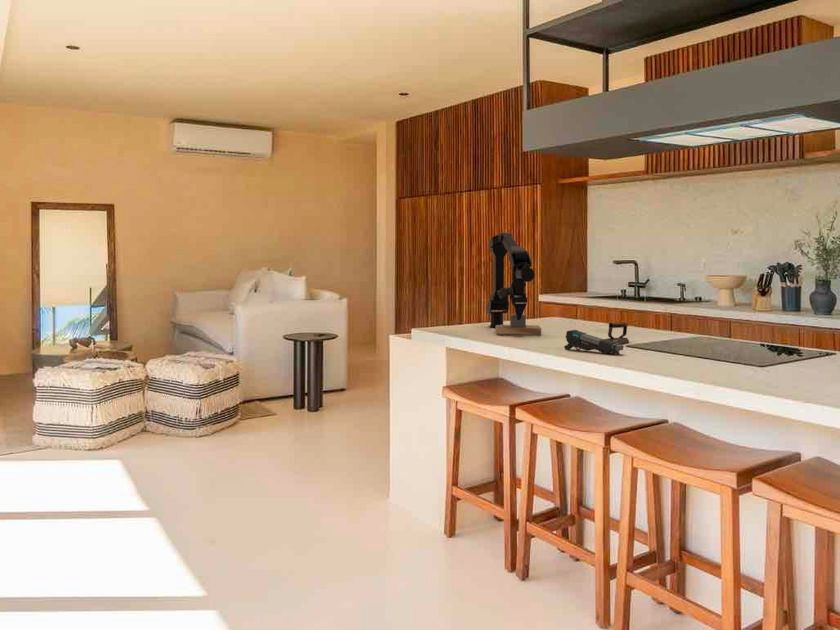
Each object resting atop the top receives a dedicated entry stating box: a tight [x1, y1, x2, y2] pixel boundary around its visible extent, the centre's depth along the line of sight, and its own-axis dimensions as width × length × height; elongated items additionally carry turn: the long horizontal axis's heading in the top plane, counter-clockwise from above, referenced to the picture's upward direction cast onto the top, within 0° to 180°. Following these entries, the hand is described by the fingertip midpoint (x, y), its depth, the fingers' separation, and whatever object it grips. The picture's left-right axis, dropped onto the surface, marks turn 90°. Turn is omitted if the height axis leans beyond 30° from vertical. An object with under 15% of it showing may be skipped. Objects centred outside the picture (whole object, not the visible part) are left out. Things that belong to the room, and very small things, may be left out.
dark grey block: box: [509, 313, 527, 328], centre depth 300 cm, size 6×6×7 cm
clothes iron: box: [606, 322, 630, 346], centre depth 273 cm, size 7×11×10 cm, turn 126°
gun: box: [563, 329, 625, 356], centre depth 251 cm, size 4×20×10 cm, turn 49°
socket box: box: [495, 324, 542, 337], centre depth 300 cm, size 11×18×4 cm, turn 85°
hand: (518, 318), depth 299 cm, fingers open, 9 cm apart
